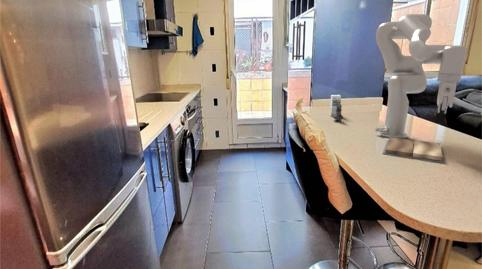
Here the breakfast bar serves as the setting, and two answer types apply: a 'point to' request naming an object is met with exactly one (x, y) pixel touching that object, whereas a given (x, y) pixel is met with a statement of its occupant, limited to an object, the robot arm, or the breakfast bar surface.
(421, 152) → the ash plank
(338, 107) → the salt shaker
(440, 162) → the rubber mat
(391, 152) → the walnut board
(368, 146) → the breakfast bar surface
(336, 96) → the syrup box
